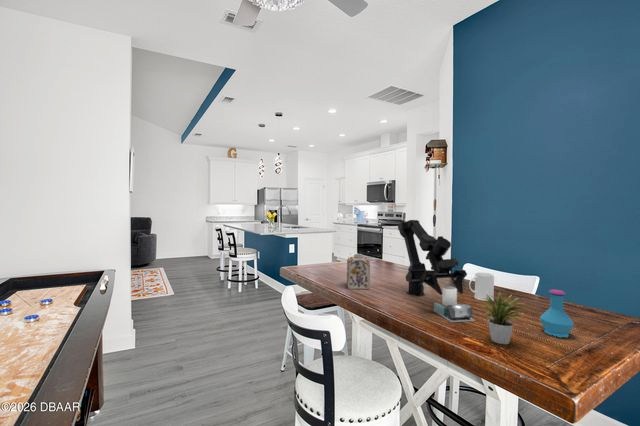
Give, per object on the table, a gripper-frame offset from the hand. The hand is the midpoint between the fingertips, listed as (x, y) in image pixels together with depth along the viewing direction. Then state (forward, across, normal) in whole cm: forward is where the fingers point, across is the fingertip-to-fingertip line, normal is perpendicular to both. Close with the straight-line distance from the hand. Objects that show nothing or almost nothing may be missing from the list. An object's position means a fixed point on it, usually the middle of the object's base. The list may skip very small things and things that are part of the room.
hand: (451, 294), depth 121 cm
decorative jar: (-27, -25, +40) cm, 55 cm away
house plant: (+24, 0, -12) cm, 27 cm away
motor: (+7, 0, +5) cm, 9 cm away
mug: (-7, +28, +20) cm, 35 cm away
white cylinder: (+5, 0, +7) cm, 8 cm away
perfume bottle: (+22, +26, -9) cm, 35 cm away
